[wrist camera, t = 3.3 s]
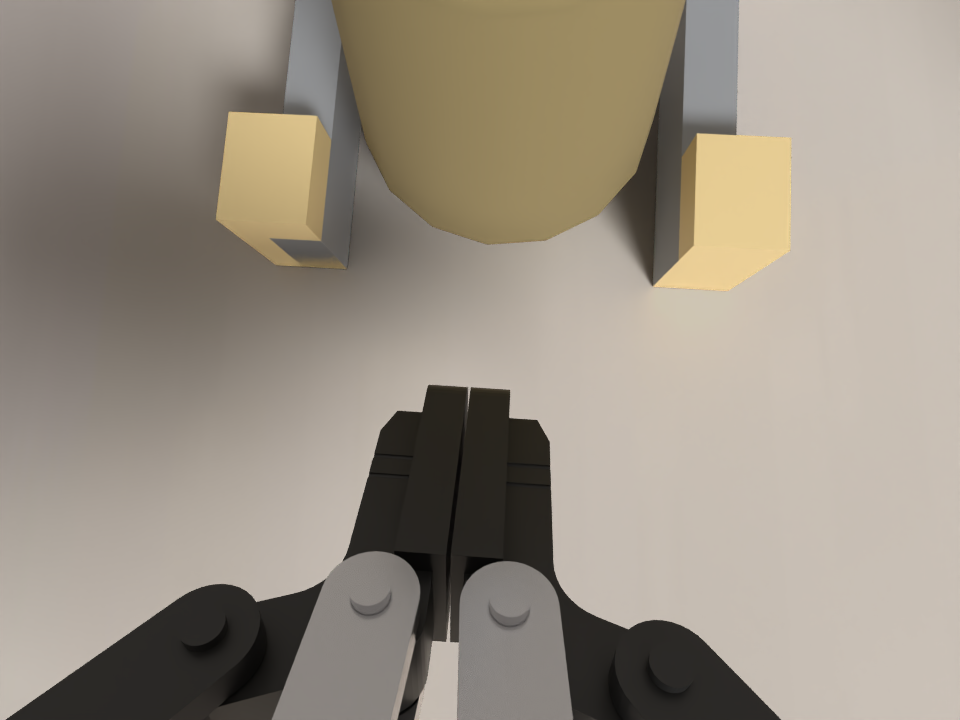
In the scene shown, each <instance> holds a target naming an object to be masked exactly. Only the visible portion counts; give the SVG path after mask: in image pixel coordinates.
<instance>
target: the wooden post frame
mask: <svg viewBox="0 0 960 720" xmlns="http://www.w3.org/2000/svg"><path fill="white" fill-rule="evenodd" d="M738 22H739V0H686V1H685V5H684V8H683V12H682V16H681V20H680V23H679V27H678V31H677V34H676V38H675V42H674V45H673V49H672V53H671V56H670V60H669V64H668V68H667V71H666V75H665V79H664V82H663V86H662V90H661V93H660V97H659V125H658V153H657V181H656V209H655V237H654V265H653V287H667V288H685V289H702V290H720V291H729V290H730V289H732V288H733V287H735V286H736V285H738V284H740V283H741V282H743V281H744V280H746V279H747V278H749V277H750V276H752V275H753V274H755V273H756V272H758V271H760V270H761V269H763V268H764V267H766V266H767V265H769V264H770V263H772V262H773V261H775V260H777V259H778V258H780V257H781V256H783V255H784V254H786V253H787V252H789V251H790V220H791V138H786V137H764V136H743V135H736V123H737V73H738ZM360 130H361V120H360V116H359V112H358V108H357V104H356V99H355V95H354V91H353V87H352V83H351V79H350V75H349V71H348V67H347V63H346V59H345V55H344V50H343V46H342V42H341V38H340V34H339V30H338V26H337V22H336V18H335V14H334V10H333V5H332V1H331V0H296V1H295V10H294V19H293V28H292V37H291V46H290V55H289V64H288V73H287V82H286V91H285V100H284V109H283V114H269V113H247V112H229V115H228V123H227V131H226V139H225V147H224V156H223V164H222V172H221V180H220V188H219V196H218V205H217V213H216V220H217V221H218V222H220V223H221V224H222V225H224V226H225V227H226V228H228V229H229V230H230V231H232V232H233V233H234V234H235V235H237V236H238V237H239V238H241V239H242V240H243V241H245V242H246V243H247V244H249V245H250V246H251V247H253V248H254V249H255V250H257V251H258V252H259V253H261V254H262V255H263V256H264V257H266V258H267V259H268V260H270V261H271V262H272V263H274V264H275V265H283V266H300V267H317V268H335V269H347V267H348V256H349V246H350V235H351V225H352V214H353V204H354V193H355V183H356V172H357V162H358V151H359V141H360Z"/></svg>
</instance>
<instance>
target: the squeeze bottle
mask: <svg viewBox="0 0 960 720" xmlns="http://www.w3.org/2000/svg"><path fill="white" fill-rule="evenodd" d="M331 1H332V5H333V10H334V14H335V18H336V22H337V26H338V30H339V34H340V38H341V42H342V46H343V50H344V55H345V59H346V63H347V67H348V71H349V75H350V79H351V83H352V87H353V91H354V95H355V99H356V104H357V108H358V112H359V116H360V120H361V124H362V128H363V132H364V136H365V140H366V143H367V145H368V147H369V149H370V151H371V153H372V155H373V157H374V159H375V161H376V163H377V166H378V168H379V170H380V172H381V174H382V176H383V178H384V180H385V182H386V184H387V186H388V188H389V190H390V191H391V192H392V193H393V194H394V195H396V196H397V197H398V198H399V199H400V200H402V201H403V202H404V203H405V204H406V205H407V206H409V207H410V208H411V209H412V210H413V211H414V212H416V213H417V214H418V215H419V216H420V217H421V218H423V219H424V220H425V221H426V222H427V223H428V224H430V225H431V226H432V227H435V228H438V229H441V230H444V231H447V232H450V233H453V234H456V235H459V236H462V237H466V238H469V239H472V240H475V241H478V242H481V243H484V244H487V245H488V244H503V243H517V242H531V241H545V240H548V239H550V238H552V237H554V236H556V235H558V234H560V233H562V232H564V231H566V230H568V229H570V228H572V227H574V226H577V225H579V224H581V223H583V222H585V221H587V220H589V219H591V218H593V217H595V216H597V215H599V214H600V212H601V211H602V210H603V209H604V208H605V207H606V206H607V205H608V203H609V202H610V201H611V200H612V199H613V198H614V197H615V196H616V194H617V193H618V192H619V191H620V190H621V189H622V188H623V187H624V185H625V184H626V183H627V182H628V181H629V180H630V179H631V178H632V176H633V175H634V174H635V173H636V171H637V168H638V165H639V162H640V159H641V156H642V153H643V150H644V147H645V144H646V141H647V138H648V135H649V132H650V128H651V125H652V122H653V119H654V116H655V112H656V108H657V104H658V101H659V97H660V93H661V90H662V86H663V82H664V79H665V75H666V71H667V68H668V64H669V60H670V56H671V53H672V49H673V45H674V42H675V38H676V34H677V31H678V27H679V23H680V20H681V16H682V12H683V8H684V5H685V1H686V0H331Z"/></svg>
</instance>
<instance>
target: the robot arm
mask: <svg viewBox="0 0 960 720" xmlns="http://www.w3.org/2000/svg"><path fill="white" fill-rule="evenodd" d="M509 406H510V390H503V389H488V388H473V387H471V391H470V399H469V407H468V387H456V386H441V385H428V388H427V392H426V397H425V402H424V407H423V412H407V411H397V412H396V413H395V414H394V416H393V417H392V418H391V419H390V420H389V421H388V422H387V424H386V425H385V426H384V427H383V428H382V429H381V431H380V435H379V438H378V442H377V446H376V449H375V453H374V454H375V455H374V458H373V460H372V464H371V468H370V471H369V477H368V479H367V482H366V486H365V490H364V493H363V497H362V501H361V504H360V508H359V512H358V515H357V519H356V523H355V526H354V530H353V534H352V537H351V541H350V545H349V548H348V551H347V554H346V556H345V558H344V559H343V561H342V563H340V564H339V565H338V566H336V568H335V569H334V570H333V571H332V572H331V573H330V574H329V576H328V577H327V578H326V579H325V580H324V581H322V582H321V583H319V584H317V585H316V586H314V587H312V588H309V589H307V590H305V591H301V592H298V593H294V594H290V595H286V596H281V597H277V598H273V599H268V600H264V601H260V602H256V601H255V600H254V599H253V597H252V596H251V595H250V594H249V593H248V592H247V591H245V590H243V589H241V588H239V587H236V586H233V585H226V584H215V585H209V586H205V587H201V588H198V589H196V590H193V591H191V592H189V593H187V594H185V595H184V596H182V597H181V598H179V599H177V600H176V601H175V602H173V603H172V604H170V605H169V606H167V607H166V608H165V609H163V610H162V611H160V612H159V613H157V614H156V615H155V616H153V617H152V618H150V619H149V620H147V621H146V622H145V623H143V624H142V625H140V626H139V627H137V628H136V629H135V630H133V631H132V632H130V633H129V634H127V635H126V636H125V637H123V638H122V639H120V640H119V641H117V642H116V643H115V644H113V645H112V646H110V647H109V648H107V649H106V650H105V651H103V652H102V653H100V654H99V655H97V656H96V657H95V658H93V659H92V660H90V661H89V662H87V663H86V664H85V665H83V666H82V667H80V668H79V669H77V670H76V671H75V672H73V673H72V674H70V675H69V676H67V677H66V678H65V679H63V680H62V681H60V682H59V683H57V684H56V685H55V686H53V687H52V688H50V689H49V690H47V691H46V692H45V693H43V694H42V695H40V696H39V697H37V698H36V699H35V700H33V701H32V702H30V703H29V704H27V705H26V706H25V707H23V708H22V709H20V710H19V711H17V712H16V713H15V714H13V715H12V716H10V717H9V718H7V719H6V720H419V715H420V710H421V705H422V700H423V695H424V688H425V684H426V680H427V676H428V669H429V661H430V654H431V646H432V641H442V642H446V639H447V630H448V621H449V612H450V603H451V613H450V642H459V661H458V703H457V720H781V719H780V718H779V717H778V716H777V715H776V714H775V713H774V712H773V711H772V710H771V709H770V708H769V707H768V706H767V705H766V704H765V703H764V702H763V701H762V700H761V699H760V698H759V697H758V696H757V695H756V694H755V693H754V692H753V691H752V690H751V689H750V688H749V686H748V685H747V684H746V683H745V682H744V681H743V680H742V679H741V678H740V677H739V676H738V675H737V674H736V673H735V672H734V671H733V670H732V669H731V668H730V667H729V666H728V665H727V664H726V663H725V662H724V661H723V660H722V659H721V658H720V657H719V656H718V655H717V654H716V653H715V652H714V651H713V650H712V649H711V648H710V647H709V646H708V645H707V644H706V643H705V642H704V641H703V640H702V639H701V638H700V637H699V636H698V635H696V634H695V633H693V632H692V631H690V630H689V629H687V628H685V627H683V626H681V625H678V624H675V623H672V622H668V621H663V620H651V621H645V622H642V623H639V624H637V625H635V626H633V627H631V628H630V629H629V630H628V629H626V628H623V627H621V626H618V625H616V624H613V623H611V622H608V621H606V620H603V619H601V618H598V617H596V616H594V615H592V614H590V613H588V612H586V611H585V610H583V609H581V608H580V607H579V606H577V605H576V604H575V603H574V602H573V601H572V600H571V599H570V598H569V597H568V596H567V595H566V594H565V592H564V591H563V589H562V588H561V586H560V584H559V582H558V580H557V578H556V575H555V571H554V565H553V539H552V507H551V474H550V442H549V440H548V438H547V436H546V435H545V433H544V431H543V429H542V428H541V426H540V424H539V422H538V421H537V420H527V419H513V418H509Z"/></svg>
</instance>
